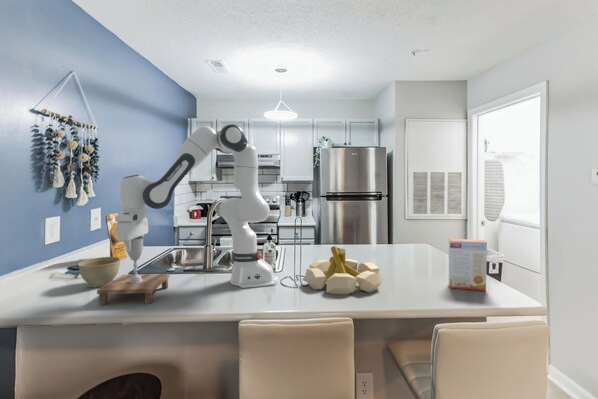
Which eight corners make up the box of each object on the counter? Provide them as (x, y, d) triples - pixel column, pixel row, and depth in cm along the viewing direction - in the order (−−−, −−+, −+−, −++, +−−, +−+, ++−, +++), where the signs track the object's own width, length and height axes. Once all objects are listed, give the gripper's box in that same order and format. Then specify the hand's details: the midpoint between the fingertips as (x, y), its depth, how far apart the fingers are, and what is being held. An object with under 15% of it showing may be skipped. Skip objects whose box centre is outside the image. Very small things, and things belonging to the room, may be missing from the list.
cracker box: (483, 287, 139) (484, 239, 138) (486, 291, 133) (487, 242, 132) (447, 283, 143) (448, 237, 142) (449, 288, 138) (450, 240, 136)
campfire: (310, 271, 166) (310, 238, 165) (376, 273, 161) (377, 239, 160) (301, 295, 132) (301, 254, 130) (385, 298, 127) (386, 256, 126)
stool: (169, 286, 142) (169, 273, 142) (151, 304, 122) (150, 288, 122) (123, 288, 141) (122, 274, 140) (97, 305, 121) (96, 290, 120)
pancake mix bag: (102, 263, 184) (100, 215, 182) (119, 255, 203) (117, 211, 201) (115, 262, 185) (112, 214, 183) (130, 255, 204) (128, 211, 202)
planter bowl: (75, 284, 146) (74, 261, 145) (114, 276, 157) (113, 255, 157) (85, 293, 135) (83, 267, 134) (126, 284, 146) (125, 260, 146)
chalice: (149, 278, 134) (147, 236, 133) (139, 284, 127) (137, 239, 126) (133, 278, 135) (131, 236, 134) (122, 283, 128) (120, 239, 127)
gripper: (136, 212, 140) (138, 243, 140) (112, 217, 119) (113, 254, 120) (151, 212, 140) (152, 243, 141) (129, 217, 119) (131, 254, 120)
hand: (134, 248), depth 130 cm, fingers open, 8 cm apart
